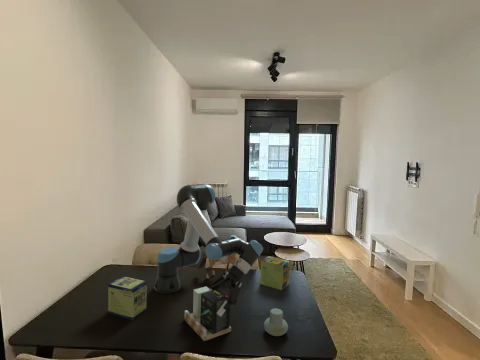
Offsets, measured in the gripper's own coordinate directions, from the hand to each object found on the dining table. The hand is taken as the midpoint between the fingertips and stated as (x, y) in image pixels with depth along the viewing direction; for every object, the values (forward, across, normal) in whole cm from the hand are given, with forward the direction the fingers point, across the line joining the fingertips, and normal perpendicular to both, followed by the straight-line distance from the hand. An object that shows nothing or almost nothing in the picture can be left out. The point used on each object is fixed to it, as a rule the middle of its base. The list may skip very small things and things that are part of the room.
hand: (210, 308), depth 136 cm
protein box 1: (+27, -37, -11) cm, 47 cm away
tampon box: (+5, 0, +8) cm, 10 cm away
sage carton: (+5, -13, +8) cm, 16 cm away
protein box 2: (-34, -24, +50) cm, 65 cm away
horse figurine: (-18, -54, +34) cm, 67 cm away
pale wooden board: (+7, -6, +9) cm, 13 cm away
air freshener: (-10, +16, +26) cm, 32 cm away
